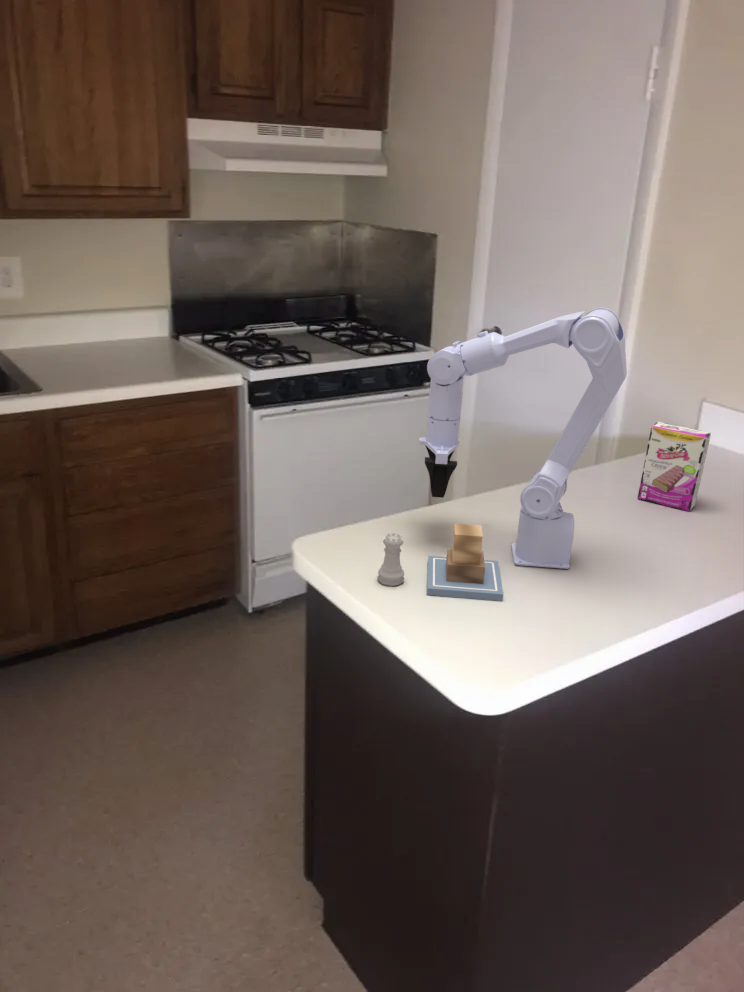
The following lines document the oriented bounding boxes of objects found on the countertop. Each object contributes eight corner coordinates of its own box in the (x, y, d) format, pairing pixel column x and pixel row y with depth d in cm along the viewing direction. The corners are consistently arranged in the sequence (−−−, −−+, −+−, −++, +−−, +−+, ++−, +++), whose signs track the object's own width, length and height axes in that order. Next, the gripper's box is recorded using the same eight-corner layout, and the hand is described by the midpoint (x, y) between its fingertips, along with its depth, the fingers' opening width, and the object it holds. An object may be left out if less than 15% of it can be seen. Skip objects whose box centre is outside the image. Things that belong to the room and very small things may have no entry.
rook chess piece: (401, 588, 133) (405, 543, 130) (374, 585, 134) (377, 540, 131) (406, 576, 137) (409, 532, 135) (379, 572, 138) (382, 529, 135)
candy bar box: (636, 500, 175) (649, 425, 169) (642, 493, 179) (656, 420, 173) (690, 513, 170) (706, 437, 164) (696, 505, 174) (711, 431, 168)
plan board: (497, 567, 142) (500, 545, 141) (502, 601, 131) (505, 577, 130) (427, 561, 143) (429, 539, 141) (426, 595, 132) (428, 571, 130)
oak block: (478, 553, 137) (481, 525, 136) (479, 564, 133) (482, 536, 132) (451, 550, 138) (454, 523, 136) (452, 562, 134) (455, 534, 132)
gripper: (421, 403, 151) (416, 473, 156) (420, 426, 138) (414, 502, 143) (460, 406, 151) (454, 476, 156) (462, 429, 138) (455, 505, 143)
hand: (437, 488), depth 150 cm, fingers open, 7 cm apart
